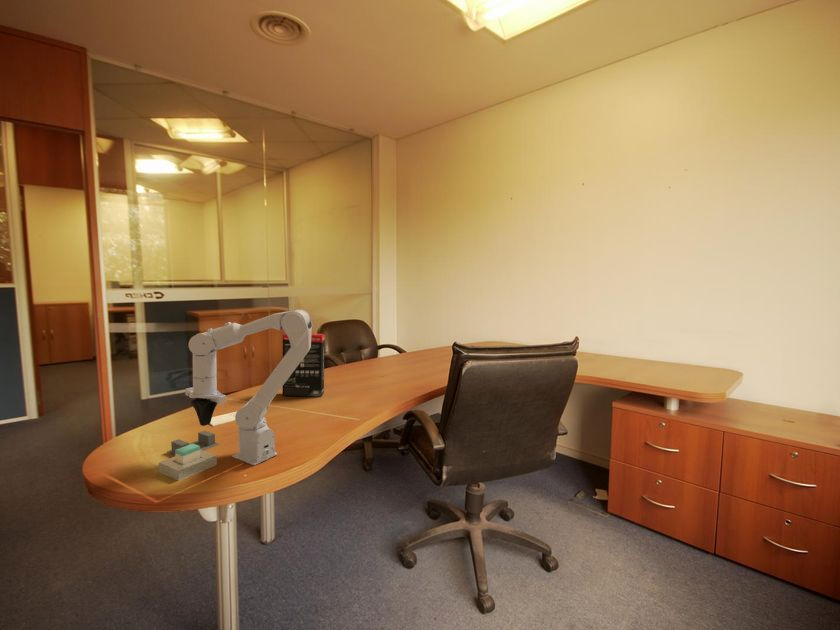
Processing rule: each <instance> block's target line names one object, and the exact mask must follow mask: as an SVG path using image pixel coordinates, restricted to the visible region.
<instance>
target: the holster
mask: <svg viewBox="0 0 840 630" xmlns="http://www.w3.org/2000/svg"><path fill="white" fill-rule="evenodd" d="M197 434H198V435H197V436H198V439H197V440H195V441H192V442H190V443H189V442H188V441H184V440H182V439H179V438H178V439H175V440H173V441H171V442H170V443H171V444H170V445H171V449H169V450H167V451H166V453H168V454H171V455H173V456H175V450H176V449H179V448H182V447H184V446H187V445H190V444H195V445H198V446H200V449H201V450H203V451H206V450H208V449H211V448H214V447H216V446H219V445H220V442H219V443H218V442H216V436H215V435H216V434H215V433H213V432H210V431H207V430H202V431H200V432H197Z"/></svg>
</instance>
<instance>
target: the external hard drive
mask: <svg viewBox="0 0 840 630" xmlns="http://www.w3.org/2000/svg"><path fill="white" fill-rule="evenodd" d="M236 413H237V411H234V412H229V413H225V414H221V415H216V416H212V419H211V422H210V424H208V426H209V425H210V426H212V427H216V426H220V425H224V424H228V423H231V422H236V420H235V416H236Z"/></svg>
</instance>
